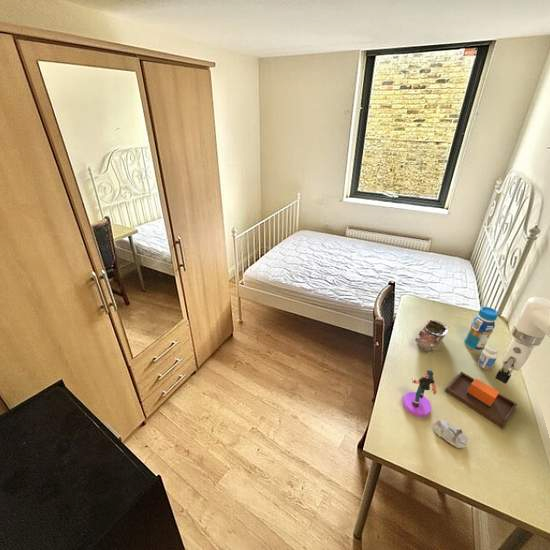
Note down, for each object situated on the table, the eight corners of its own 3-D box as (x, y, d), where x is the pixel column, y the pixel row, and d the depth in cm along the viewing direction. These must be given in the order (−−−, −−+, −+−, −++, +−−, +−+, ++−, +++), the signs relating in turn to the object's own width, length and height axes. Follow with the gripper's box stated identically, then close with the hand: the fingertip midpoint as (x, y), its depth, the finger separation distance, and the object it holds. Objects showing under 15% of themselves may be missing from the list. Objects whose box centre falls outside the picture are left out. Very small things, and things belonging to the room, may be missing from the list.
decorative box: (455, 345, 137) (462, 329, 132) (434, 364, 126) (441, 347, 122) (428, 330, 146) (433, 315, 141) (406, 347, 135) (411, 331, 131)
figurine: (423, 395, 112) (437, 361, 103) (434, 417, 104) (450, 383, 95) (399, 394, 112) (410, 360, 104) (408, 416, 104) (421, 382, 95)
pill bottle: (492, 365, 127) (501, 348, 122) (490, 372, 123) (499, 355, 118) (478, 358, 130) (486, 342, 125) (475, 365, 126) (483, 348, 122)
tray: (515, 407, 108) (517, 404, 107) (502, 428, 101) (504, 425, 100) (459, 374, 122) (461, 371, 121) (444, 391, 114) (446, 388, 113)
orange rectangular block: (493, 401, 109) (499, 391, 107) (489, 408, 107) (495, 398, 104) (470, 387, 115) (475, 378, 112) (466, 393, 112) (471, 383, 110)
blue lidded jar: (462, 337, 142) (477, 303, 133) (482, 342, 139) (499, 308, 130) (464, 347, 136) (479, 313, 126) (485, 353, 133) (502, 318, 123)
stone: (467, 437, 98) (470, 432, 97) (462, 454, 93) (465, 449, 92) (437, 419, 103) (439, 415, 102) (431, 434, 99) (433, 429, 97)
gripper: (533, 353, 83) (510, 394, 92) (549, 329, 93) (526, 368, 101) (503, 339, 89) (483, 379, 97) (521, 318, 98) (501, 356, 106)
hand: (505, 373), depth 99 cm, fingers open, 9 cm apart
